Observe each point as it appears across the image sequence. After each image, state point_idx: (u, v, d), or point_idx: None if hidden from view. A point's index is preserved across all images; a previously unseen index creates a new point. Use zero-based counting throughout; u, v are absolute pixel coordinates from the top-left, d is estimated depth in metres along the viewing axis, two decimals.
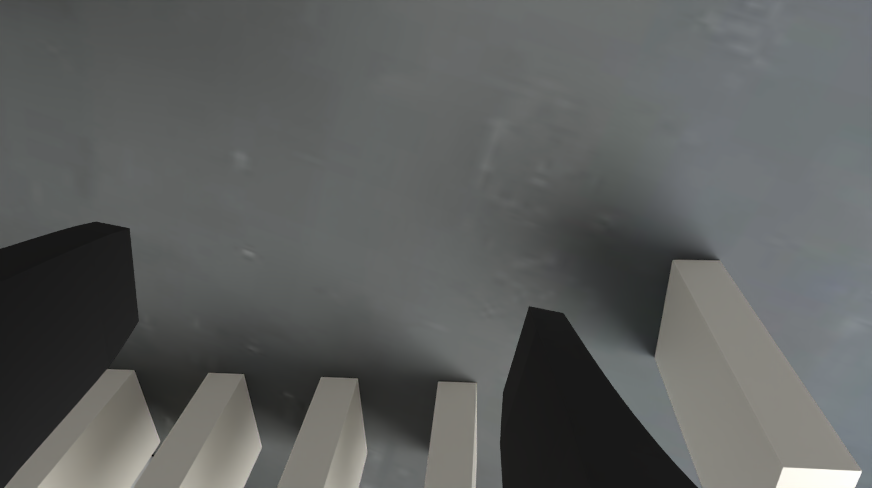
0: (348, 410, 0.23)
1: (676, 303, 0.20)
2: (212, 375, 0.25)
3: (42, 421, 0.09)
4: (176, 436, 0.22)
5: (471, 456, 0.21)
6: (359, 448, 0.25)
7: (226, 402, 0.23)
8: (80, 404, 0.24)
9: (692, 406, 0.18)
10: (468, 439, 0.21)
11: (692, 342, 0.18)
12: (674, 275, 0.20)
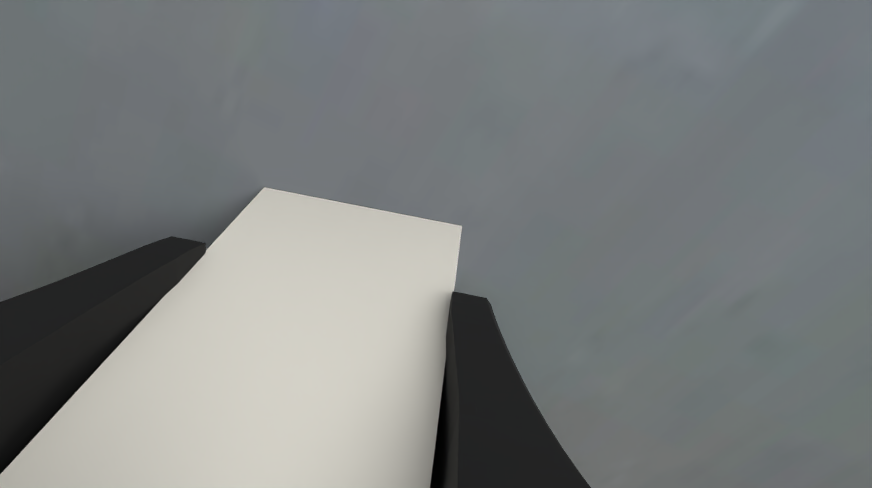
0: None
1: None
2: None
3: None
4: None
5: None
6: None
7: None
8: None
9: None
10: None
11: None
12: None
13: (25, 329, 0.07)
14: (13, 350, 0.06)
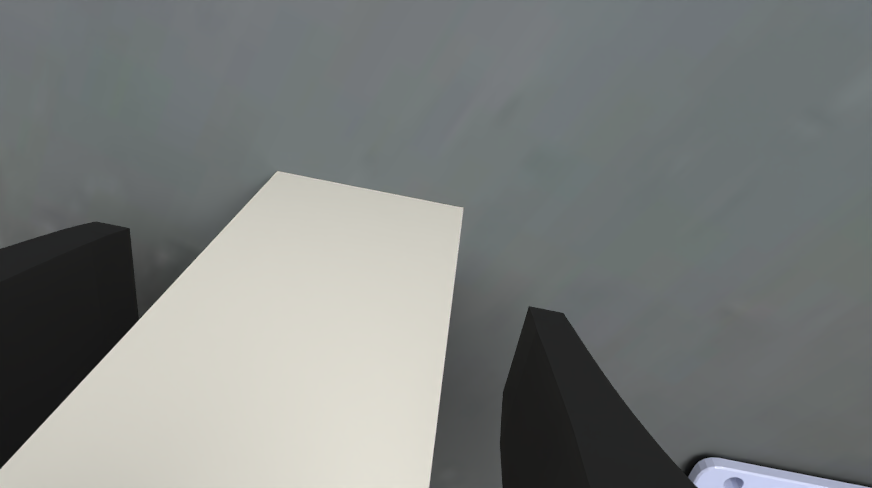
0: None
1: None
2: None
3: (41, 421, 0.09)
4: None
5: None
6: None
7: None
8: None
9: None
10: None
11: None
12: None
13: None
14: None
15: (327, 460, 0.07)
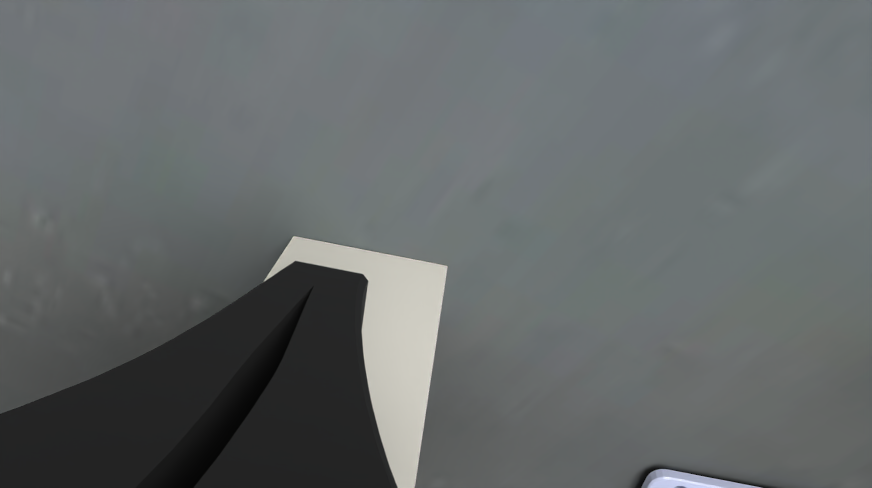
0: None
1: None
2: None
3: None
4: None
5: None
6: None
7: None
8: None
9: None
10: None
11: None
12: None
13: (213, 366, 0.07)
14: (213, 389, 0.06)
15: None
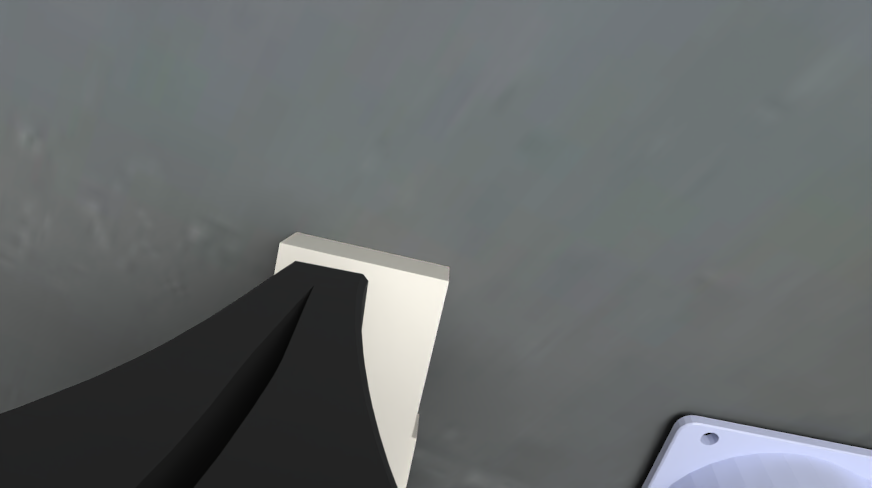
0: None
1: None
2: None
3: None
4: None
5: None
6: None
7: None
8: None
9: None
10: None
11: None
12: None
13: (213, 366, 0.07)
14: (213, 389, 0.06)
15: None
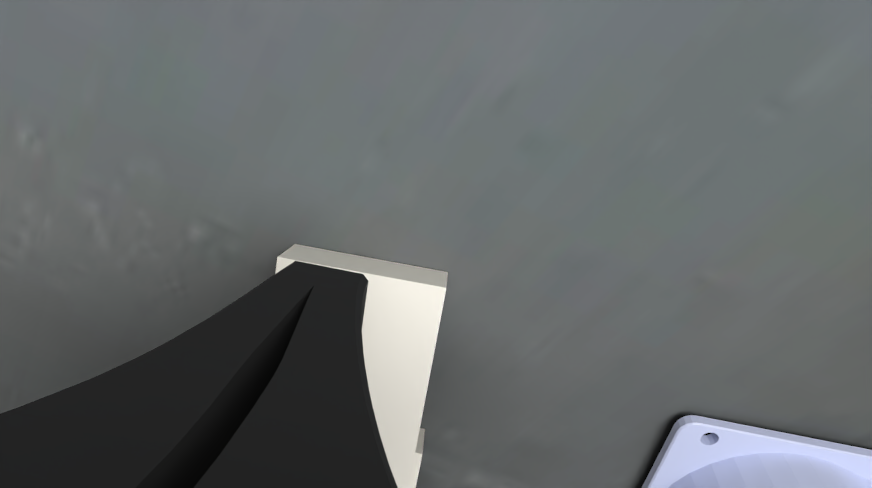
0: None
1: None
2: None
3: None
4: None
5: None
6: None
7: None
8: None
9: None
10: None
11: None
12: None
13: (213, 366, 0.07)
14: (213, 389, 0.06)
15: None
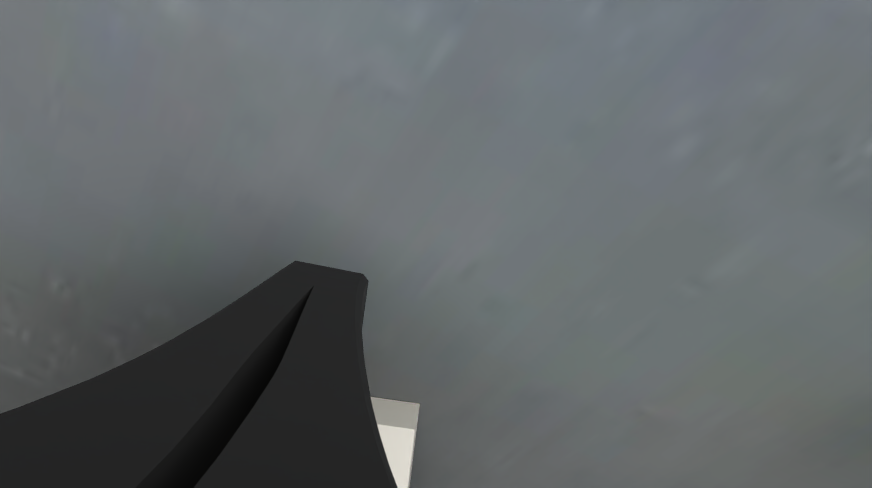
0: None
1: None
2: None
3: None
4: None
5: None
6: None
7: None
8: None
9: None
10: None
11: None
12: None
13: (213, 366, 0.07)
14: (213, 389, 0.06)
15: None
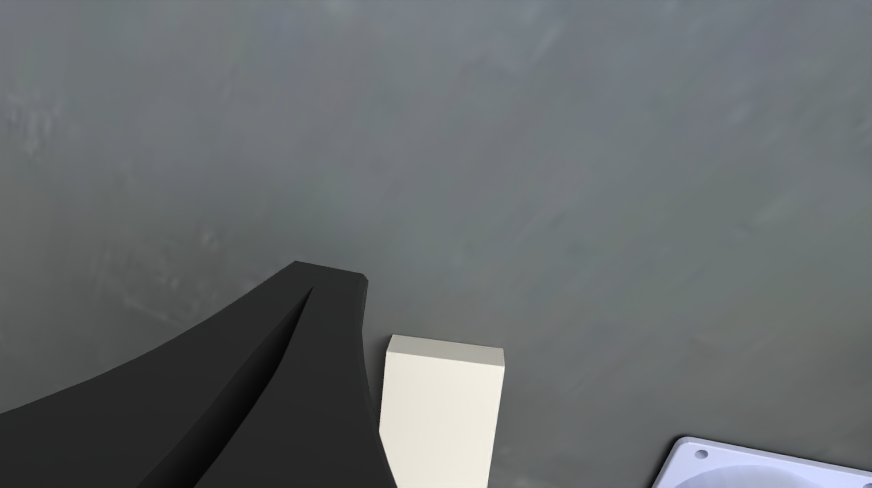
0: None
1: None
2: None
3: None
4: None
5: None
6: None
7: None
8: None
9: None
10: None
11: None
12: None
13: (213, 366, 0.07)
14: (213, 389, 0.06)
15: None
